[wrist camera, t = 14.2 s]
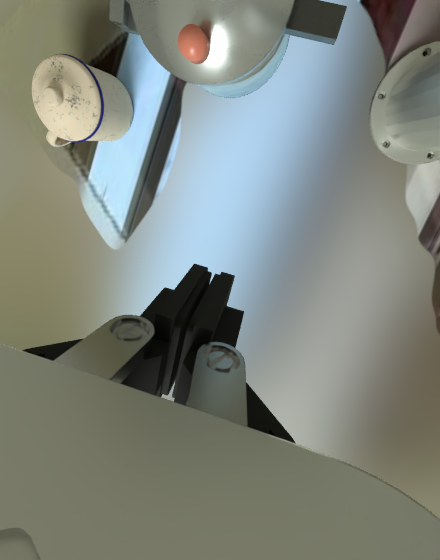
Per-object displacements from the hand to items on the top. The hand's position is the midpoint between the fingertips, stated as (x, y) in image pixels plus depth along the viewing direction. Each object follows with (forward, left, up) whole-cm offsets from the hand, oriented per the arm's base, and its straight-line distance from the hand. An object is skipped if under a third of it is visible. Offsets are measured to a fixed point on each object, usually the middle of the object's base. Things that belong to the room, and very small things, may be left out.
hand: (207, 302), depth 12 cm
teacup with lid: (+26, -4, -35) cm, 44 cm away
